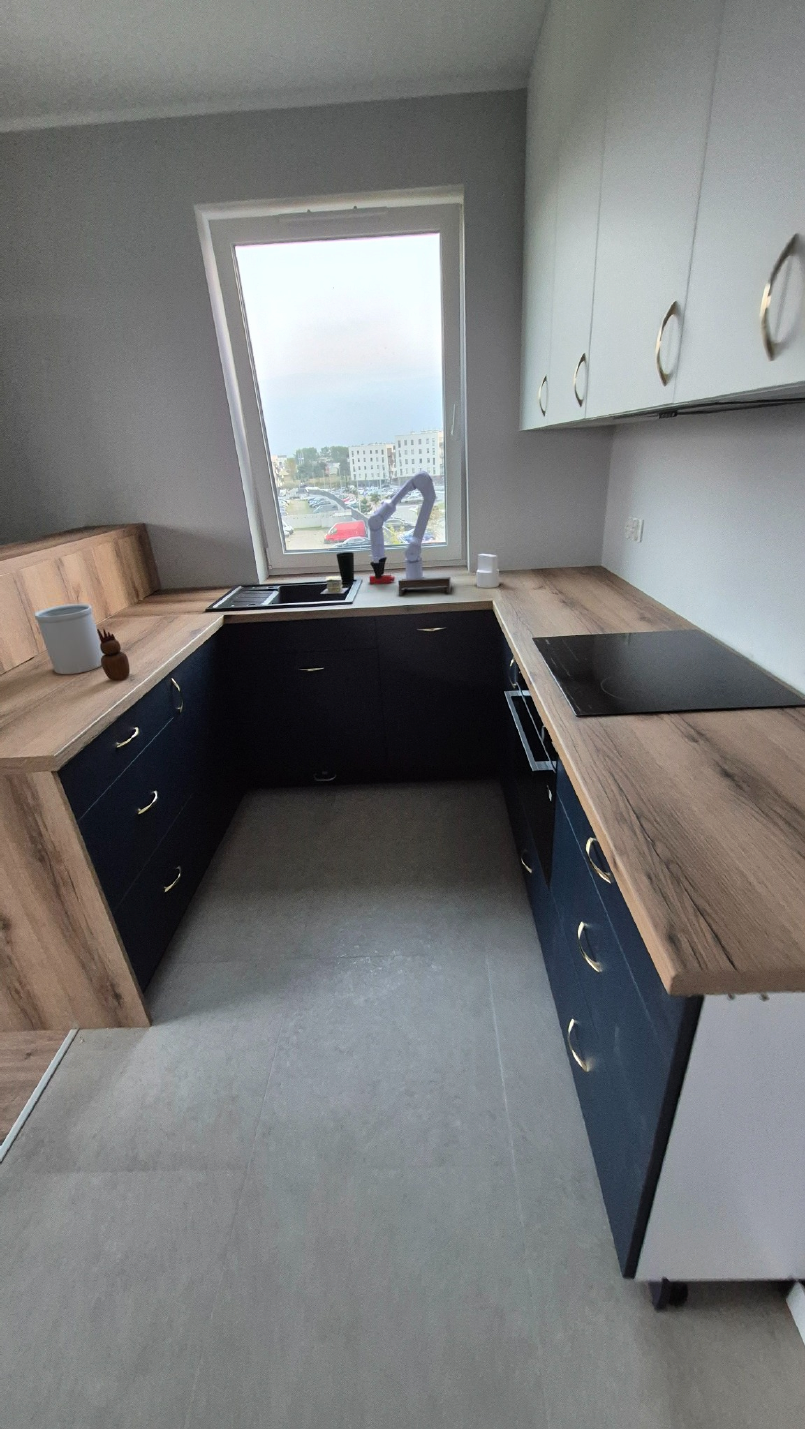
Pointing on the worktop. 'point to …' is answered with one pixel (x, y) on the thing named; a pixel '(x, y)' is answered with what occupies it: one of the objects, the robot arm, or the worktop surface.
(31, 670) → the worktop surface
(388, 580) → the crayon
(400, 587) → the shelf
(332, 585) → the stacked layers on plate
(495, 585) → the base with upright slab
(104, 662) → the wooden figurine
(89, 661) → the utensil holder
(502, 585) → the worktop surface
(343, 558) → the cup
